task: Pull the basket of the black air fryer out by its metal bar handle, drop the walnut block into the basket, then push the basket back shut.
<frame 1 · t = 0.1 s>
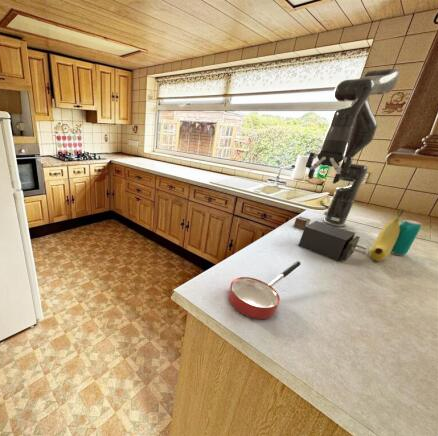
hand: (321, 180, 95), 29 cm above the countertop, tool pointing down, fingers open, 8 cm apart
frying pan: (265, 290, 74), on the countertop
basket: (339, 244, 97), point 5 cm above the countertop, slide at 0.8 cm
banana: (376, 257, 99), on the countertop
block: (300, 227, 124), on the countertop
beverage can: (396, 253, 103), on the countertop
air fryer: (322, 249, 102), on the countertop
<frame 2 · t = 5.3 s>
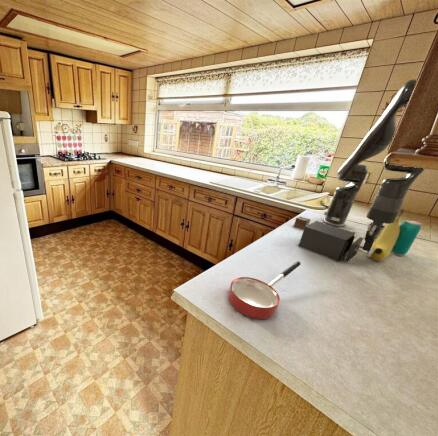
hand: (365, 250, 90), 6 cm above the countertop, tool pointing down, fingers closed
basket: (342, 245, 96), point 5 cm above the countertop, slide at 1.9 cm, touching gripper
everything else where it was.
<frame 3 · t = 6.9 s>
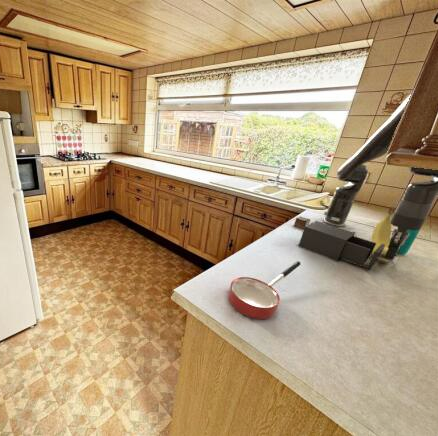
hand: (388, 257, 86), 6 cm above the countertop, tool pointing down, fingers closed
basket: (363, 252, 91), point 5 cm above the countertop, slide at 8.5 cm, touching gripper
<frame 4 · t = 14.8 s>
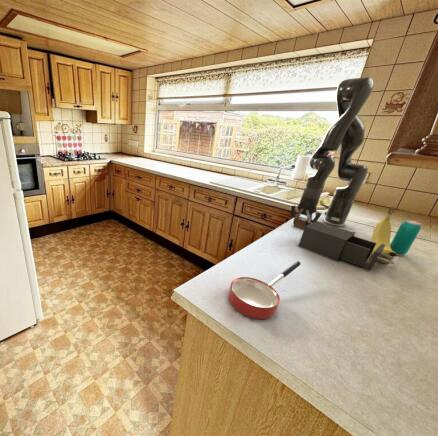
hand: (300, 226, 124), 0 cm above the countertop, tool pointing down, fingers closed on block, 5 cm apart
basket: (363, 252, 91), point 5 cm above the countertop, slide at 8.5 cm
block: (300, 227, 124), on the countertop, touching gripper
when the fingers open (9 cm above the countertop, at t = 21.2 s): block drops 7 cm, resting on basket.
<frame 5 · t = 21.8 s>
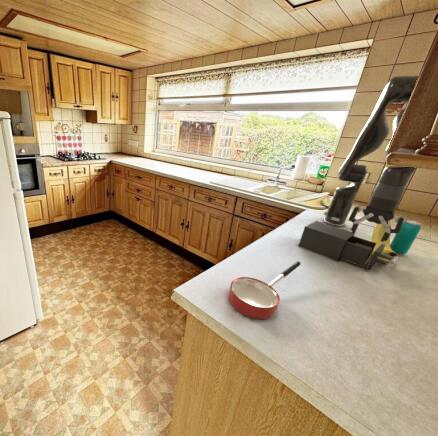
hand: (367, 236, 89), 11 cm above the countertop, tool pointing down, fingers open, 8 cm apart
basket: (363, 252, 91), point 5 cm above the countertop, slide at 8.6 cm, touching block
block: (357, 257, 93), point 2 cm above the countertop, touching basket
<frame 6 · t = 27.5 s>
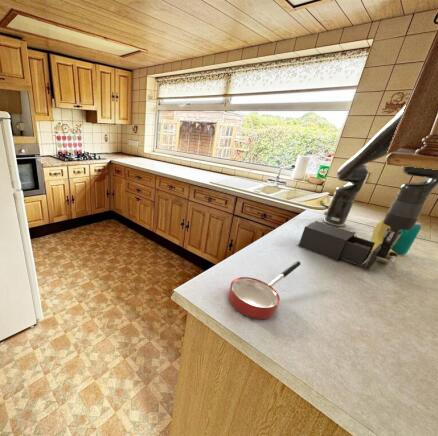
hand: (381, 256, 87), 6 cm above the countertop, tool pointing down, fingers closed
basket: (361, 252, 92), point 5 cm above the countertop, slide at 8.2 cm, touching block
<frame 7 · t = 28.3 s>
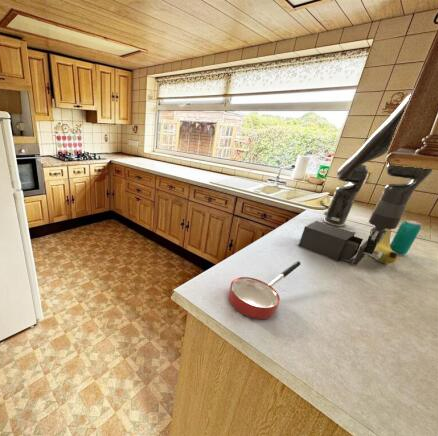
hand: (367, 254, 91), 4 cm above the countertop, tool pointing down, fingers closed
basket: (350, 248, 94), point 5 cm above the countertop, slide at 4.4 cm, touching block, gripper
block: (345, 253, 96), point 2 cm above the countertop, touching basket
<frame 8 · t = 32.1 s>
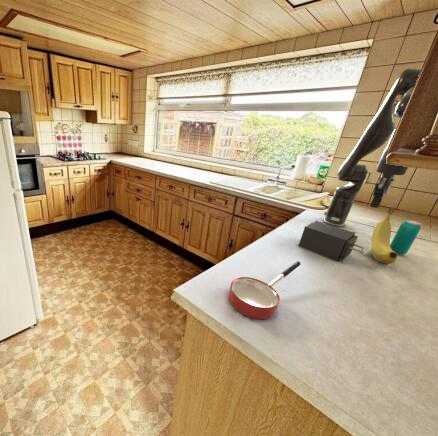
hand: (374, 207, 86), 23 cm above the countertop, tool pointing down, fingers closed
basket: (337, 243, 97), point 5 cm above the countertop, slide at 0.1 cm, touching block
block: (332, 248, 99), point 2 cm above the countertop, touching basket
at the end: basket pulled out 8.6 cm at the most during the clip, back to where it started at the end; block inside the target area in the air fryer (3.4 cm from its centre), point 2.0 cm above the air fryer's base; basket slide at 0.1 cm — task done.
